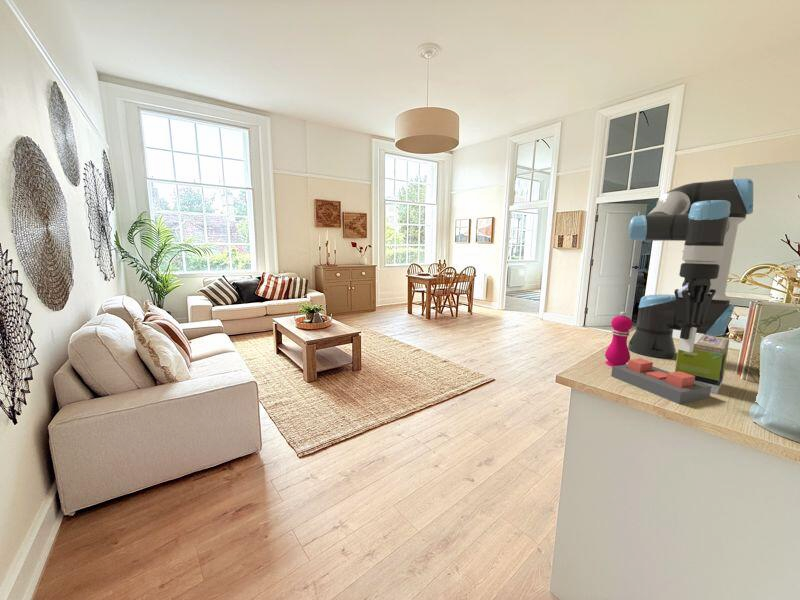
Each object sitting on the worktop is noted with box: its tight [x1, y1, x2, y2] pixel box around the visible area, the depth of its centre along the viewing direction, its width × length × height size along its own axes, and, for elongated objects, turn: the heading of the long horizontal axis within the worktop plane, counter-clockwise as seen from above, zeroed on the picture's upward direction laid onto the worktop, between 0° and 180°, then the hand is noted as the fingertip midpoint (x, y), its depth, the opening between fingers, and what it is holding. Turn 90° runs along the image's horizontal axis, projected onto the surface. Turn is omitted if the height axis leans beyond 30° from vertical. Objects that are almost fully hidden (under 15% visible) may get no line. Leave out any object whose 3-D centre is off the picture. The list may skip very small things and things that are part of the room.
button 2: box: [646, 371, 667, 380], centre depth 96 cm, size 5×4×4 cm
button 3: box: [666, 371, 695, 388], centre depth 91 cm, size 5×4×4 cm
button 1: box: [627, 357, 654, 373], centre depth 101 cm, size 5×4×4 cm
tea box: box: [674, 333, 730, 395], centre depth 99 cm, size 15×10×15 cm
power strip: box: [610, 363, 712, 405], centre depth 99 cm, size 13×26×4 cm, turn 19°
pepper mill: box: [604, 311, 633, 368], centre depth 112 cm, size 7×7×20 cm
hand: (685, 350), depth 89 cm, fingers closed
